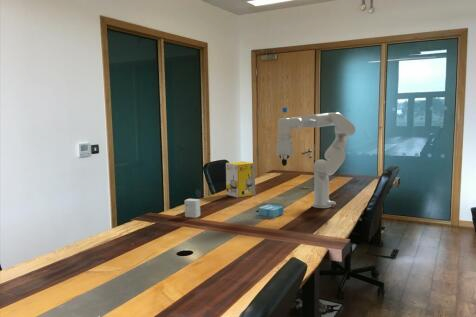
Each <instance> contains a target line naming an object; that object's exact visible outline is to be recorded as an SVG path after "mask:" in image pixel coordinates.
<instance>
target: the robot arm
mask: <svg viewBox="0 0 476 317" xmlns="http://www.w3.org/2000/svg"><path fill="white" fill-rule="evenodd" d="M330 126H335V127H334V133H335V139H334V140H333V142H332V143H331V145H329V147H328V148H327V149H326V151H325V152H324V159H317V160H316V161H314V164H313V167H312V168H313V175H314V176H313V177H314V201H313V202H314V203H312V204H311V206H312V207H313V208H317V209H328V208H331V207H332V205H334V206H335V205H337V204H336V201H333V200H330V178H329V176H332V175H334V174H335V173H336V171H337V170H339V168H340V167H341V165H343V163H344V162H345V160H346V157H347V156H346V152H345V149H346V147H347V145H348V137H351V136H353V135H354V134H355V133H356V127H355V125H354V123H352V122H351V121H350V120H349V119H348V118H346V117H345V116H344V115H343V114H341V113H340V112H324V113H315V114H309V115H301V116H292V117H280V118H279V119H278V139H276V140H277V141H276V150H275V152H276V153H275V154H276V157H278V158H280V160H281V165H282V166H283V167H286V166H287V164H288V159H289V158H292V157H293V156H294V155H293V153H294V149H293V141H292V139H291V138H293V135H291V130H300V129H302V128H310V129H311V128H322V127H330ZM325 159H326V160H325Z"/></svg>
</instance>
